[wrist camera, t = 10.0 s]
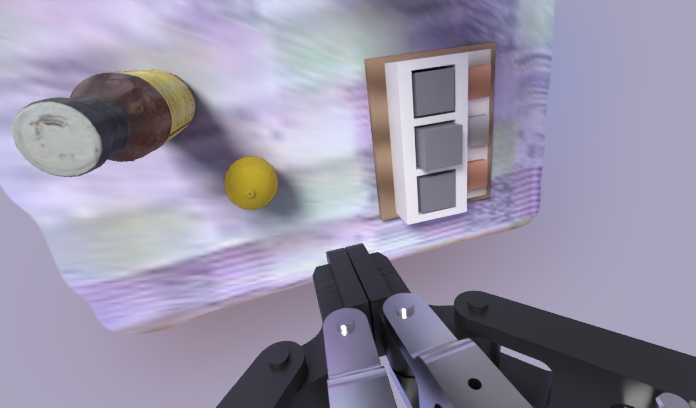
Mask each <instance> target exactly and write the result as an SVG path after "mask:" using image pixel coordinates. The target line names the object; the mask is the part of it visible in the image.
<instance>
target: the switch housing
mask: <svg viewBox="0 0 696 408" xmlns="http://www.w3.org/2000/svg"><path fill="white" fill-rule="evenodd" d="M384 64H385V77H386V90H387V103H388V115H389V128H390V141H391V154H392V167H393V180H394V193H395V205H396V213H397V214H398V215H399V216H400V217H401V219H402V220H403V221H404V222H405V223H406V224H407V225H409V224H414V223H418V222H423V221H427V220H432V219H436V218H441V217H445V216H450V215H454V214H459V213H463V212H467V134H468V52H466V53H458V54H450V55H442V56H435V57H428V58H420V59H413V60H406V61H399V62H391V63H384ZM432 67H438V68H454V110H452V111H446V112H440V113H434V114H428V115H422V116H414V113H413V93H412V73H411V70H418V69H425V68H432ZM444 121H449V122H453V123H457V124H461V125H463V153H462V164H461V165H456V166H451V167H446V168H440V169H435V170H430V171H425V170H423V169H421V168H420V167H418V166H416V153H415V133H414V126H420V125H426V124H432V123H438V122H444ZM446 170H452V171H453V172H455V206H453V207H449V208H444V209H440V210H435V211H430V212H426V213H421V212H420V211H419V210H418V193H417V176H421V175H426V174H431V173H436V172H441V171H446Z"/></svg>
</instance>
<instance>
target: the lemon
mask: <svg viewBox="0 0 696 408" xmlns="http://www.w3.org/2000/svg"><path fill="white" fill-rule="evenodd" d="M224 186H225V190H226V193H227V195H228V197H229V199H230V200H231V201H232V202H233V203H234V204H235V205H237V206H238V207H240V208H243V209H247V210H255V209H259V208H262V207H264V206H265V205H267V204H268V203H269V202H270V201H271V200H272V199H273V198H274V196H275V194H276V191H277V187H278V179H277V175H276V172H275V170H274V169H273V167H272V166H271V165H270V164H269V163H268V162H267V161H265V160H264V159H262V158H259V157H255V156H247V157H242V158H240V159H238V160H236V161H235V162H234V163H233V164H231V166H230V167H229V169H228V170H227V172H226V175H225V180H224Z"/></svg>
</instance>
